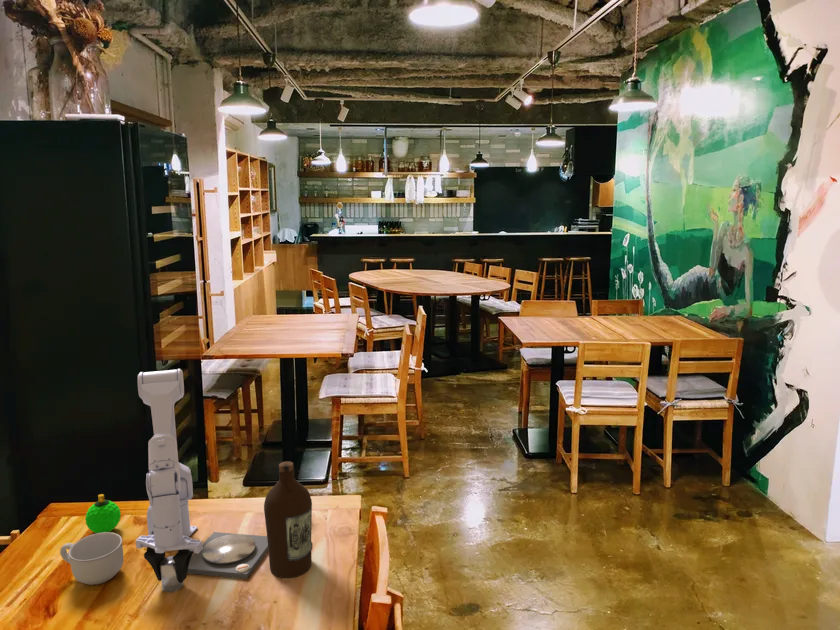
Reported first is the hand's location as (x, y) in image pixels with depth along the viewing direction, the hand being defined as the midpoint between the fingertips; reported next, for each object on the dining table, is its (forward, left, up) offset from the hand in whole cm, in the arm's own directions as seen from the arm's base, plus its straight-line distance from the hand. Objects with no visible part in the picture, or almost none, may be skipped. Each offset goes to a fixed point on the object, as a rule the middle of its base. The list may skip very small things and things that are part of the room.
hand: (172, 579), depth 140 cm
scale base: (+7, +13, -2) cm, 15 cm away
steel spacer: (0, 0, -2) cm, 2 cm away
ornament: (-30, +19, -2) cm, 36 cm away
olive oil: (+23, +11, -2) cm, 26 cm away
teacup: (-20, +1, -2) cm, 20 cm away
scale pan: (+7, +13, 0) cm, 15 cm away
